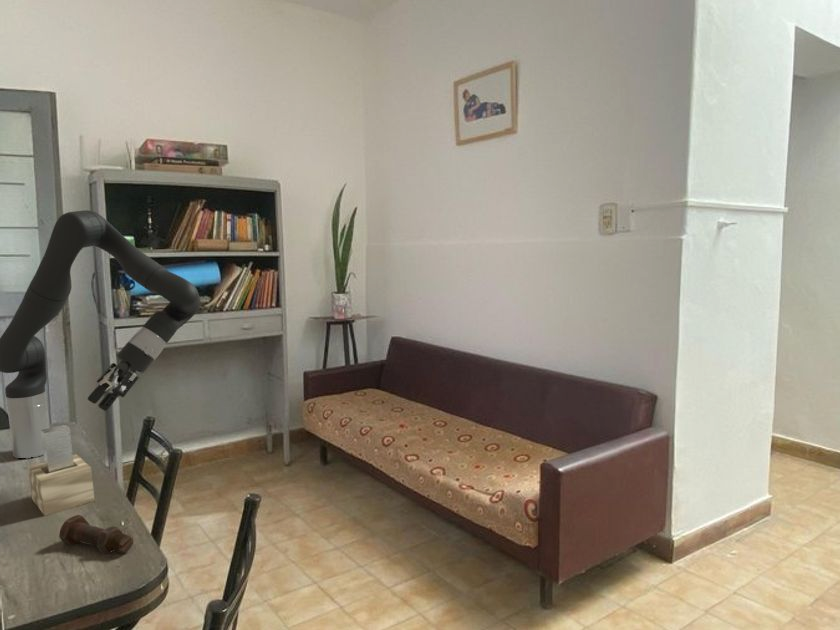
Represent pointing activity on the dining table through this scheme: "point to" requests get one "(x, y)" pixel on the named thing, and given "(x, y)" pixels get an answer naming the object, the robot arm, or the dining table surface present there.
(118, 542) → the bolt
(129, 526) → the dining table surface
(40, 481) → the open beige box
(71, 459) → the tall grey square pillar
